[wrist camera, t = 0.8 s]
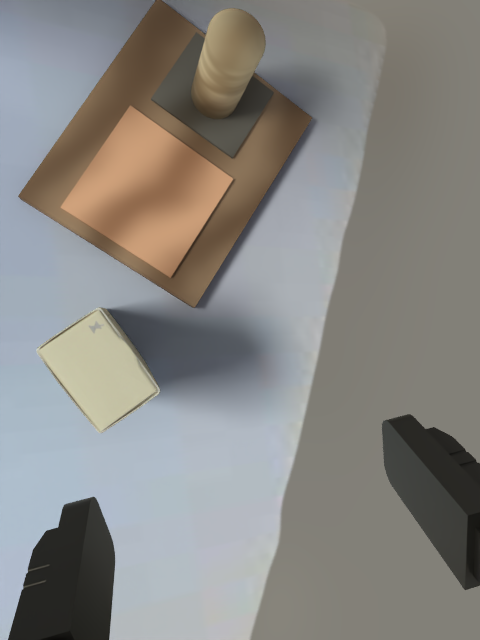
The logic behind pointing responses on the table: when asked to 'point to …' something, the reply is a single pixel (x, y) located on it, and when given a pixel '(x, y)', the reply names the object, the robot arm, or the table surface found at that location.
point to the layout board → (171, 149)
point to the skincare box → (99, 369)
